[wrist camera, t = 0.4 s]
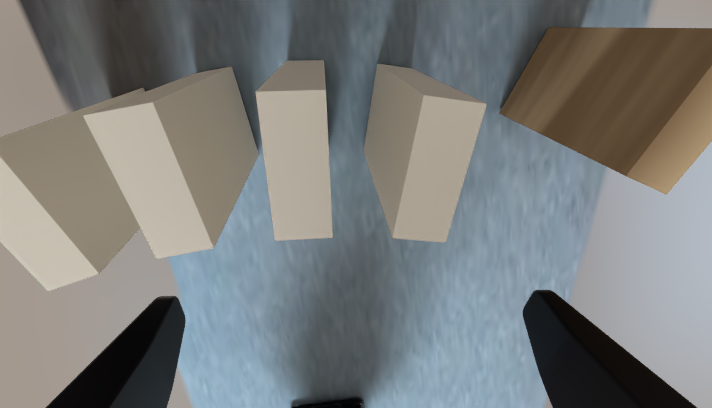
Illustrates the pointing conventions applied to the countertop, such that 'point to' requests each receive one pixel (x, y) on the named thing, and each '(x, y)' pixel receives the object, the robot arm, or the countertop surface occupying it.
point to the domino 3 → (297, 150)
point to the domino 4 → (419, 150)
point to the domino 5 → (622, 97)
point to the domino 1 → (62, 200)
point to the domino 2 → (179, 157)
